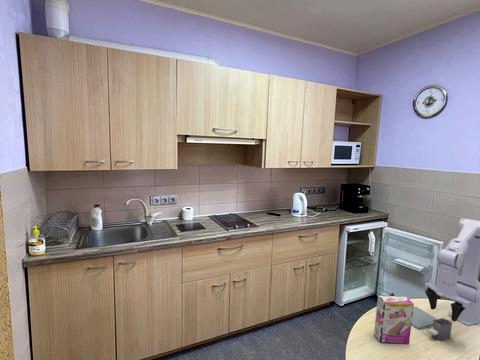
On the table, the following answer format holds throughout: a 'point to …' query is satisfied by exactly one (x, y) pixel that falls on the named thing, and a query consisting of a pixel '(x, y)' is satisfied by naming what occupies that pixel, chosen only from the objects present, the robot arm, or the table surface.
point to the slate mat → (421, 319)
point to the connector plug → (441, 329)
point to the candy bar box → (393, 319)
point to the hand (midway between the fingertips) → (443, 314)
